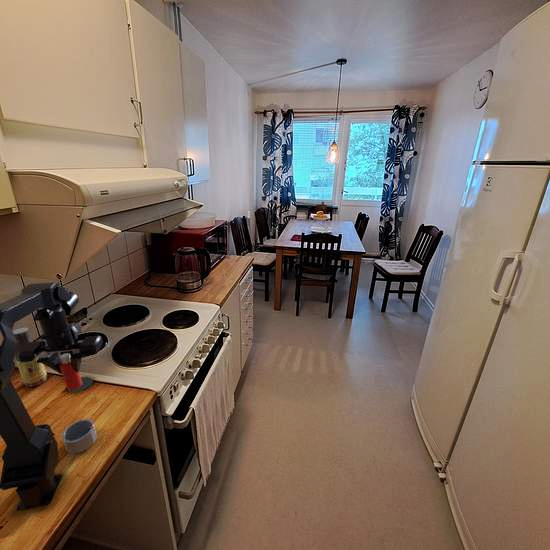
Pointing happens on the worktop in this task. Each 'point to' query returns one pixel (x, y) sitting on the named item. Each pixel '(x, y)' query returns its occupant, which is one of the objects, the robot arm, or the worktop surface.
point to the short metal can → (79, 436)
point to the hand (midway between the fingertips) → (70, 372)
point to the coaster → (83, 384)
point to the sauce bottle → (28, 370)
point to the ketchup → (69, 373)
